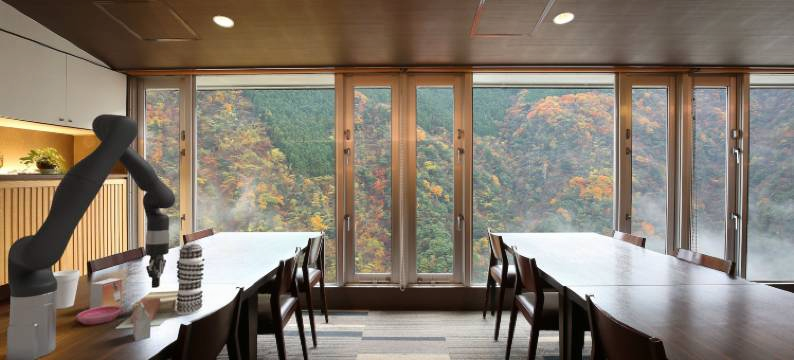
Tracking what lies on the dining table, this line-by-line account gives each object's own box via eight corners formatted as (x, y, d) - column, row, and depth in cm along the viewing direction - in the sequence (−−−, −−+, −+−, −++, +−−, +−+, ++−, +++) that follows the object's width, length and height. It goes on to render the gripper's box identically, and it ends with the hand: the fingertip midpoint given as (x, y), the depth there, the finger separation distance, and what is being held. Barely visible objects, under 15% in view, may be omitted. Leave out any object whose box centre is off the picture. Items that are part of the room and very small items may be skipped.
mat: (160, 325, 121) (160, 324, 121) (115, 329, 118) (115, 328, 118) (172, 313, 133) (172, 312, 133) (132, 316, 130) (132, 315, 130)
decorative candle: (179, 307, 139) (180, 243, 139) (205, 305, 142) (207, 243, 142) (172, 316, 130) (173, 247, 131) (200, 313, 133) (201, 246, 133)
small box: (101, 312, 133) (102, 284, 133) (89, 311, 134) (90, 283, 134) (121, 305, 141) (122, 278, 141) (110, 304, 142) (111, 277, 142)
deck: (172, 313, 133) (172, 302, 133) (132, 316, 130) (132, 305, 130) (185, 300, 148) (185, 290, 148) (150, 302, 145) (150, 292, 145)
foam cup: (41, 307, 137) (42, 273, 137) (72, 300, 145) (73, 269, 145) (52, 312, 133) (53, 277, 133) (83, 304, 141) (84, 271, 141)
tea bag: (146, 331, 117) (147, 300, 117) (150, 337, 112) (151, 305, 112) (132, 334, 114) (133, 303, 114) (135, 341, 109) (136, 308, 109)
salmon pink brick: (151, 321, 124) (150, 316, 123) (131, 322, 123) (130, 317, 122) (160, 303, 132) (159, 298, 131) (142, 304, 130) (141, 299, 130)
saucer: (66, 325, 121) (66, 316, 121) (102, 312, 133) (102, 304, 133) (96, 328, 119) (97, 318, 119) (130, 315, 131) (130, 306, 131)
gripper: (162, 244, 131) (160, 291, 131) (174, 239, 144) (172, 282, 144) (138, 244, 129) (136, 292, 129) (153, 239, 142) (151, 283, 142)
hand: (155, 287), depth 136 cm, fingers closed
